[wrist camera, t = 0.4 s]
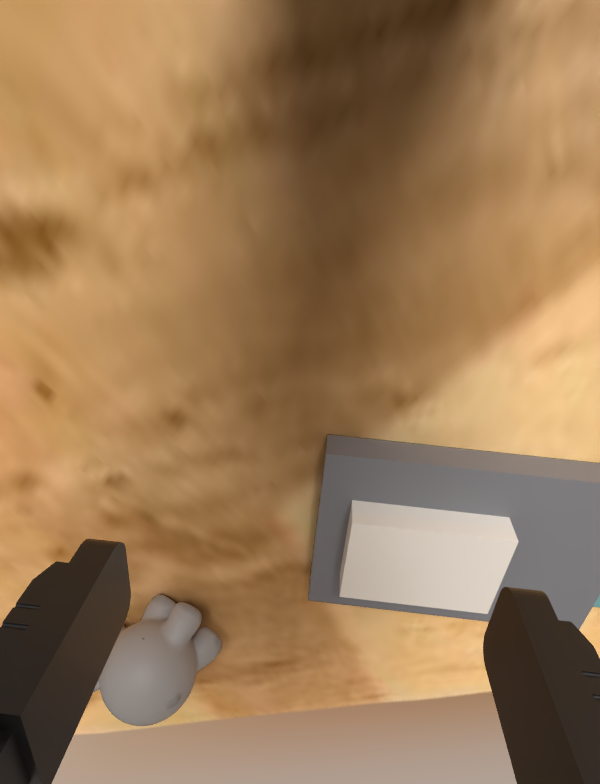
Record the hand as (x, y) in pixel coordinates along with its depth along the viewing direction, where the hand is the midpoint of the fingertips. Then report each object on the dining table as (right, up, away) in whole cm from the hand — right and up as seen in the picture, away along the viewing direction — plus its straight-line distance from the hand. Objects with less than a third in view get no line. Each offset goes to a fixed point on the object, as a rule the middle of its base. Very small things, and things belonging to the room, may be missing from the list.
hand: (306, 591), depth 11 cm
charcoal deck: (+11, -5, +24) cm, 27 cm away
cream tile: (+8, -7, +22) cm, 24 cm away
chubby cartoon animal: (-13, -15, +33) cm, 38 cm away
